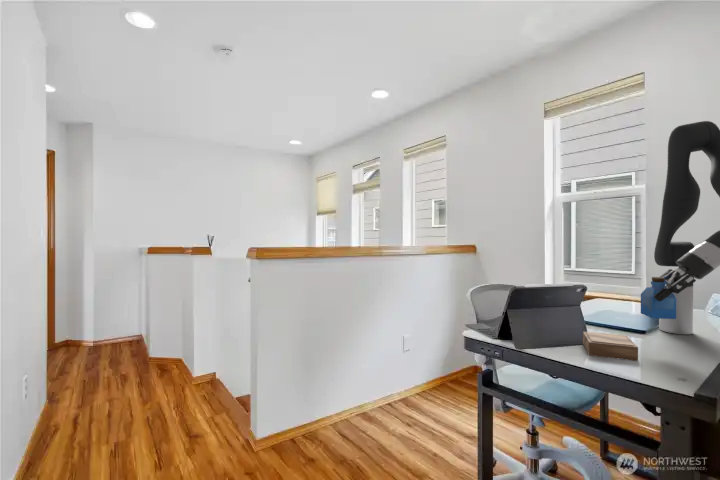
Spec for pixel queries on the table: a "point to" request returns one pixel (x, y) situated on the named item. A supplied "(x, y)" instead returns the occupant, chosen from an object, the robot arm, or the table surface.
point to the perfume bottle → (655, 307)
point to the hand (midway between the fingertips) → (652, 296)
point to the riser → (610, 346)
